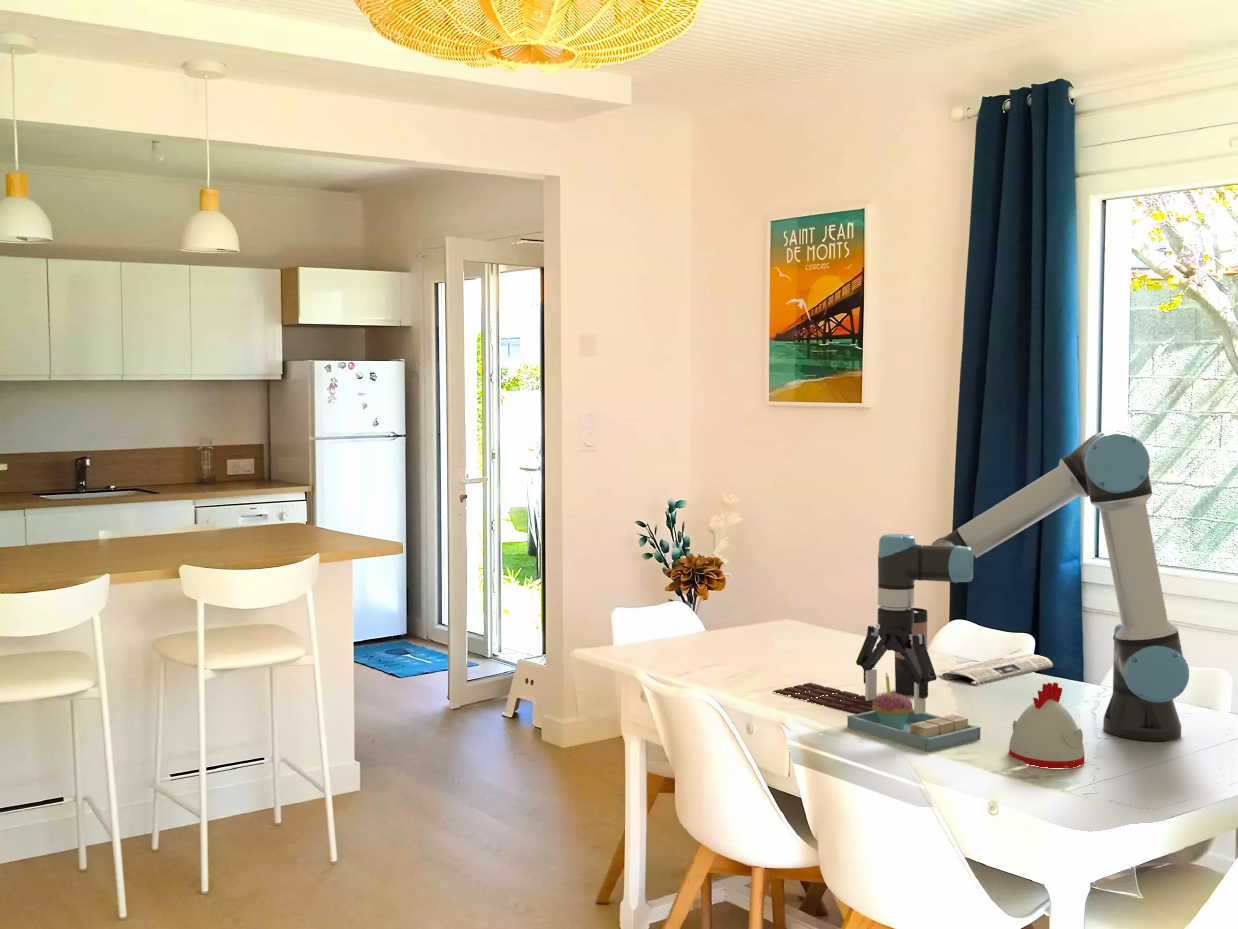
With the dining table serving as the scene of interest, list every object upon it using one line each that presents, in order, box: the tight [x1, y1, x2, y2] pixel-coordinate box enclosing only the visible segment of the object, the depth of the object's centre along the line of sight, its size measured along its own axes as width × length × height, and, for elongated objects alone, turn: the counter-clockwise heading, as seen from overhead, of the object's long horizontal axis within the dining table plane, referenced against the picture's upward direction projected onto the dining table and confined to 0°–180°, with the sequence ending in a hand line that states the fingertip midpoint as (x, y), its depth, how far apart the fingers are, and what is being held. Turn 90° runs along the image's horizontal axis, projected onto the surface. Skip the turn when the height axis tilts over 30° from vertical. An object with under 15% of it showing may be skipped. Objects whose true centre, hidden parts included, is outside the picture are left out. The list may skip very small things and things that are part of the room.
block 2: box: [925, 718, 954, 735], centre depth 243 cm, size 4×4×4 cm
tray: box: [846, 708, 981, 753], centre depth 249 cm, size 22×16×3 cm
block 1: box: [910, 721, 939, 738], centre depth 241 cm, size 4×4×4 cm
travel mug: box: [894, 607, 928, 697], centre depth 287 cm, size 8×8×20 cm
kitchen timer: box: [1008, 682, 1086, 769], centre depth 233 cm, size 14×14×15 cm
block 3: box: [940, 714, 969, 732], centre depth 246 cm, size 4×4×4 cm
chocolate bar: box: [772, 682, 875, 715], centre depth 281 cm, size 27×14×1 cm, turn 39°
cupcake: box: [872, 672, 914, 729], centre depth 254 cm, size 9×8×12 cm
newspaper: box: [938, 648, 1054, 687], centre depth 310 cm, size 35×12×4 cm, turn 128°
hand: (894, 706), depth 253 cm, fingers open, 13 cm apart
